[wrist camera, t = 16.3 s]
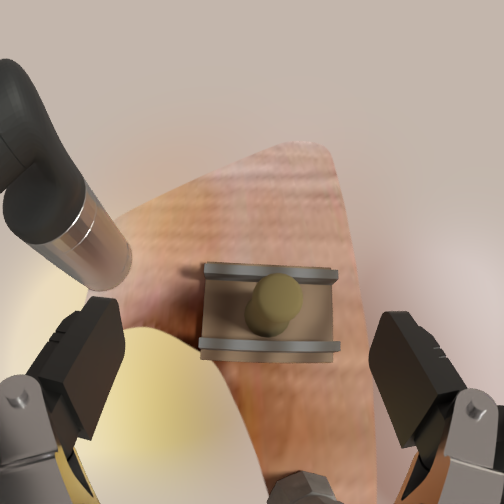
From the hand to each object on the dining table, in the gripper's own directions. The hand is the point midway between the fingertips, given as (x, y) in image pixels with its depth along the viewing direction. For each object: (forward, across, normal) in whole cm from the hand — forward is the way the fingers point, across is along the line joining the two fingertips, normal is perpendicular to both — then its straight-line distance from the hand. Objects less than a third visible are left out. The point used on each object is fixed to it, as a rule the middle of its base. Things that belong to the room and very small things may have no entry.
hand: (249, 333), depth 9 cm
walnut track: (+28, -4, +18) cm, 34 cm away
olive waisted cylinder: (+27, -4, +18) cm, 33 cm away
